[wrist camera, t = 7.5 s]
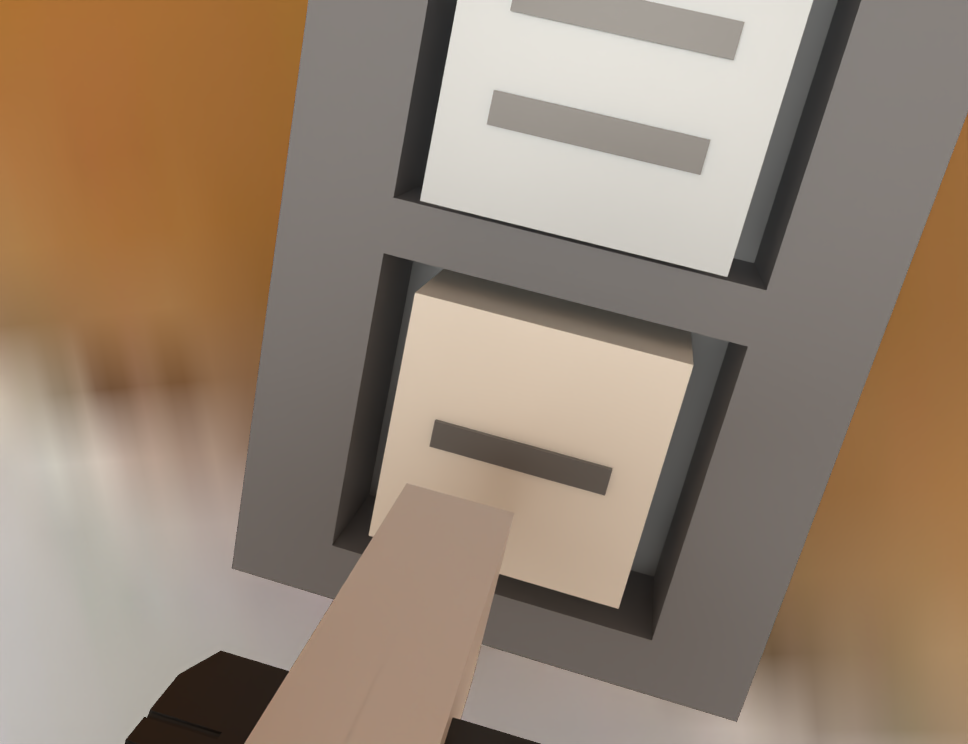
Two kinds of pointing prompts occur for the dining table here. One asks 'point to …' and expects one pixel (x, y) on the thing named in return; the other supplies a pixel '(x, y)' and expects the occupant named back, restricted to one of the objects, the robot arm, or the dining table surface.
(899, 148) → the key board
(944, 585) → the dining table surface
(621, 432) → the key
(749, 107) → the key
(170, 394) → the dining table surface
